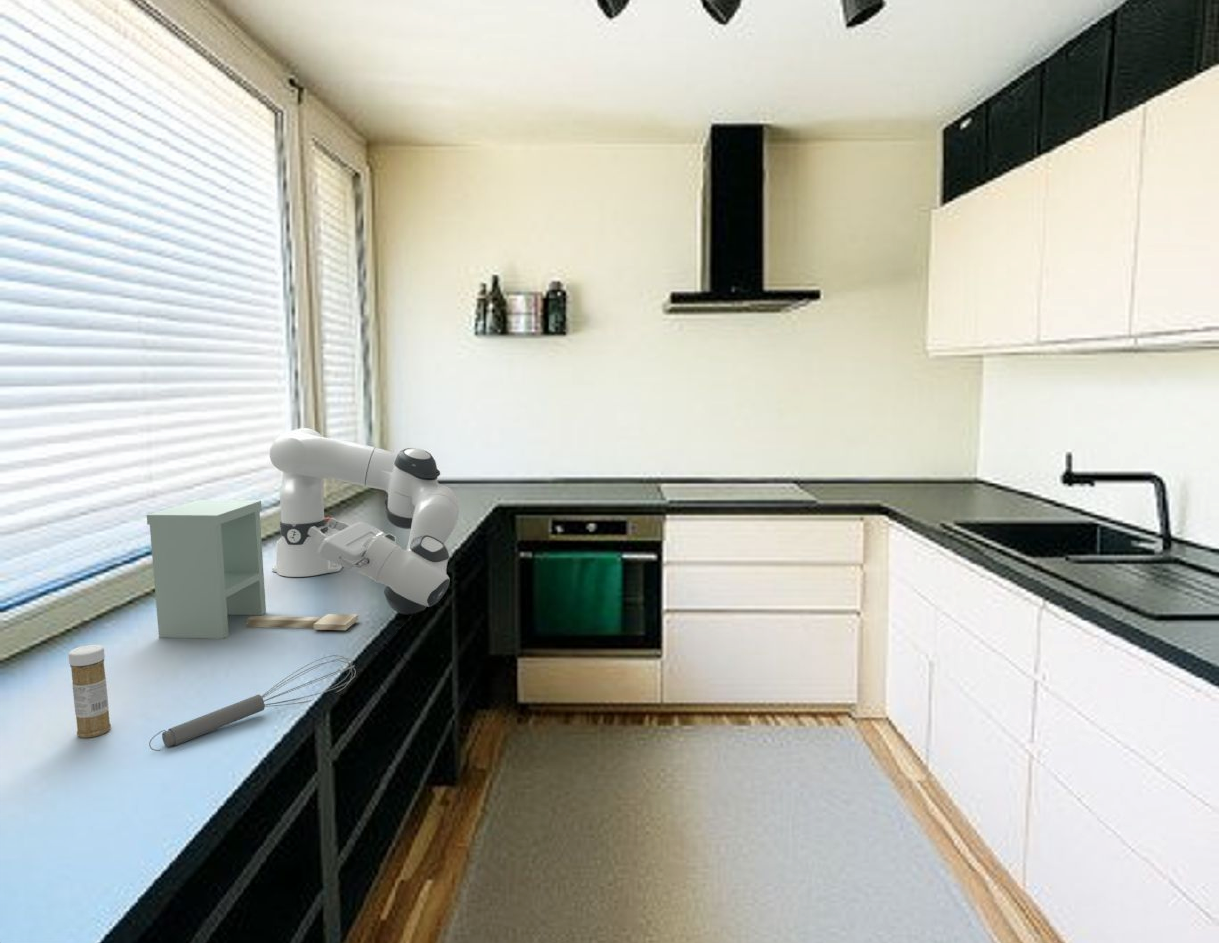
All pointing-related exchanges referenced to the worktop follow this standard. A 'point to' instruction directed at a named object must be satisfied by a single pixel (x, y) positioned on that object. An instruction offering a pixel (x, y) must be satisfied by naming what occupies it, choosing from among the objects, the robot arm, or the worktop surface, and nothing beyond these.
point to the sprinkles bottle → (89, 690)
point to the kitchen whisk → (234, 712)
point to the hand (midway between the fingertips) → (319, 525)
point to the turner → (305, 622)
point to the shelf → (206, 566)
